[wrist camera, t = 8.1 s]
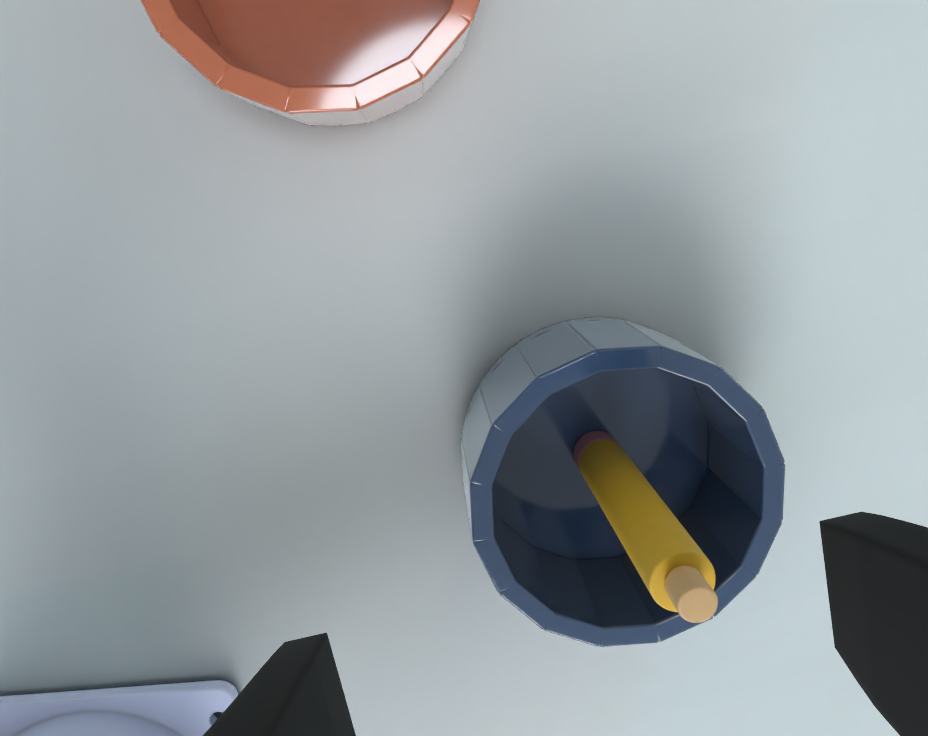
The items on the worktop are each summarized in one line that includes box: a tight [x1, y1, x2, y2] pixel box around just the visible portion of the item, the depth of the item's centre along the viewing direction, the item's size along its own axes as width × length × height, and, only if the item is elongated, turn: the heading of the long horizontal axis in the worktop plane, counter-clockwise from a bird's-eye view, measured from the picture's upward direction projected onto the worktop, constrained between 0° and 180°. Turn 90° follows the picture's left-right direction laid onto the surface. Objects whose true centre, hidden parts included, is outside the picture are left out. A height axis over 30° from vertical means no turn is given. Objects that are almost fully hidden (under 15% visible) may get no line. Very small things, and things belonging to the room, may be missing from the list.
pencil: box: [574, 431, 718, 623], centre depth 18 cm, size 1×1×8 cm
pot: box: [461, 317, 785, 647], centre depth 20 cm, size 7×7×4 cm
